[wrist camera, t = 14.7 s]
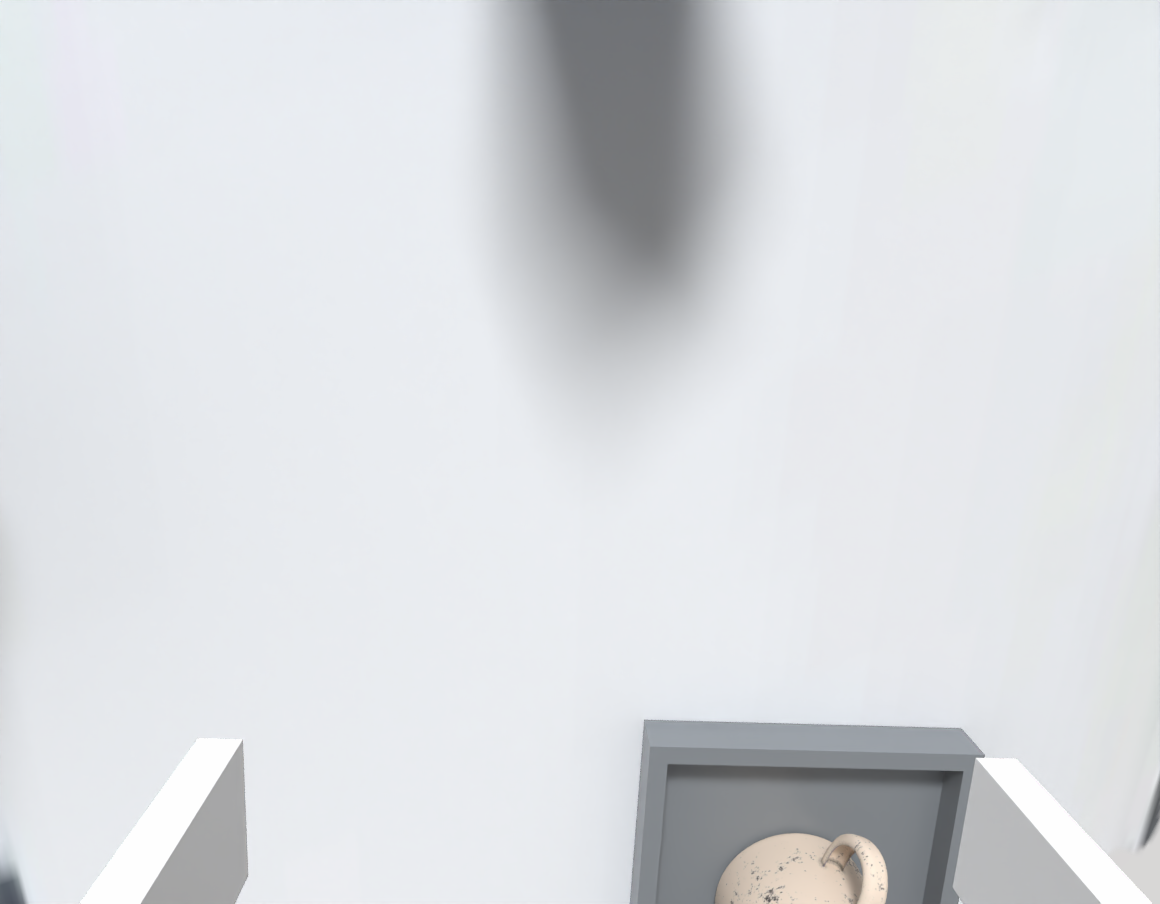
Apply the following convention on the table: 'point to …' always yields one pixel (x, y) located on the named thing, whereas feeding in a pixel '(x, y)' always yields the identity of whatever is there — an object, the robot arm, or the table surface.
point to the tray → (798, 801)
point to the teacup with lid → (805, 872)
